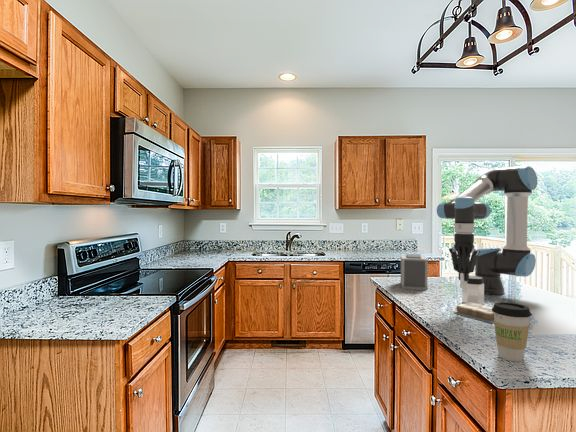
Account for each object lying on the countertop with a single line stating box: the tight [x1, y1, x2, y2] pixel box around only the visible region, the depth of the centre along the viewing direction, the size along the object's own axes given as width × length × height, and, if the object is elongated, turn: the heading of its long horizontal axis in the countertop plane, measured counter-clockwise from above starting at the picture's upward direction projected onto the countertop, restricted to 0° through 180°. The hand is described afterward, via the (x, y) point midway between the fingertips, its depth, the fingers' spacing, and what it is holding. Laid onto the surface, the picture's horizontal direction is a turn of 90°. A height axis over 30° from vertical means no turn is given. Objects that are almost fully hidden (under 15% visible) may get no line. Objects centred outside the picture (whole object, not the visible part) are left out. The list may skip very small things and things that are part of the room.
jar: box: [461, 275, 485, 305], centre depth 164 cm, size 9×8×12 cm
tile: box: [456, 302, 494, 320], centre depth 146 cm, size 10×2×14 cm
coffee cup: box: [492, 301, 533, 363], centre depth 103 cm, size 10×10×15 cm
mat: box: [453, 311, 494, 325], centre depth 144 cm, size 16×16×1 cm
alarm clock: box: [400, 253, 429, 291], centre depth 201 cm, size 18×13×18 cm
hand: (463, 288), depth 152 cm, fingers closed
